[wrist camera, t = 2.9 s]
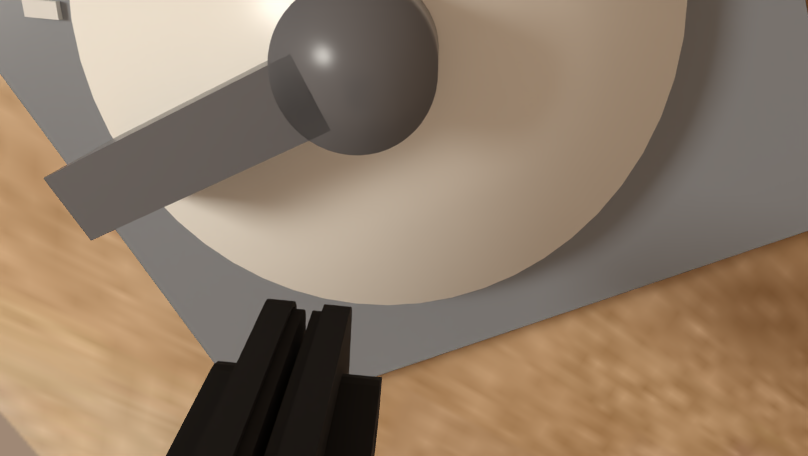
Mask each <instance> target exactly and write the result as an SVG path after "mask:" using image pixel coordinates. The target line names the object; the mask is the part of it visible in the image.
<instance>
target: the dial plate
mask: <svg viewBox="0 0 808 456" xmlns="http://www.w3.org/2000/svg"><path fill="white" fill-rule="evenodd" d="M0 74H1V76H2V77H3V78H4V80H5V81H6V82H7V84H8V85H9V86H10V88H11V89H12V90H13V92H14V93H15V95H16V96H17V97H18V99H19V100H20V101H21V103H22V104H23V105H24V107H25V108H26V109H27V111H28V112H29V113H30V115H31V116H32V117H33V119H34V120H35V122H36V123H37V124H38V126H39V127H40V128H41V130H42V131H43V132H44V134H45V135H46V136H47V138H48V139H49V140H50V142H51V143H52V144H53V146H54V147H55V149H56V150H57V151H58V153H59V154H60V155H61V157H62V158H63V159H64V161H65V162H66V163H67V164H69V163H71V162H73V161H75V160H76V159H78V158H80V157H82V156H83V155H85V154H87V153H89V152H90V151H92V150H94V149H96V148H98V147H99V146H101V145H103V144H105V143H106V142H108V141H110V140H112V139H113V138H112V136H111V134H110V132H109V130H108V128H107V126H106V124H105V122H104V120H103V118H102V116H101V113H100V111H99V109H98V107H97V105H96V103H95V101H94V99H93V96H92V93H91V90H90V87H89V84H88V81H87V78H86V75H85V73H84V70H83V67H82V64H81V61H80V57H79V52H78V47H77V43H76V38H75V34H74V29H73V25H72V20H71V10H70V0H0ZM115 230H116V231H117V232H118V234H119V235H120V236H121V238H122V239H123V240H124V242H125V243H126V244H127V246H128V247H129V249H130V250H131V251H132V253H133V254H134V255H135V257H136V258H137V259H138V261H139V262H140V263H141V265H142V266H143V267H144V269H145V270H146V271H147V273H148V274H149V276H150V277H151V278H152V280H153V281H154V282H155V284H156V285H157V286H158V288H159V289H160V290H161V292H162V293H163V294H164V296H165V297H166V298H167V300H168V301H169V303H170V304H171V305H172V307H173V308H174V309H175V311H176V312H177V313H178V315H179V316H180V317H181V319H182V320H183V321H184V323H185V324H186V326H187V327H188V328H189V330H190V331H191V332H192V334H193V335H194V336H195V338H196V339H197V340H198V342H199V343H200V344H201V346H202V347H203V348H204V350H205V351H206V353H207V354H208V355H209V357H210V358H211V359H212V361H213V362H214V363H216V362H217V361H225V362H235V363H237V361H238V359H239V357H240V354H241V352H242V350H243V348H244V346H245V344H246V342H247V340H248V337H249V335H250V333H251V331H252V329H253V327H254V325H255V322H256V320H257V318H258V316H259V314H260V312H261V310H262V307H263V305H264V303H265V301H266V300H267V299H278V300H288V301H295V302H296V305H297V309H305V311H306V328H307V325H308V322H309V319H310V316H311V313H312V311H313V310H315V311H322V309H323V306H324V304H328V305H338V306H348V307H352V325H351V345H350V366H349V374H353V375H363V376H373V377H375V376H378V375H381V374H384V373H387V372H390V371H393V370H396V369H399V368H402V367H405V366H408V365H411V364H414V363H417V362H420V361H423V360H426V359H429V358H432V357H435V356H438V355H441V354H444V353H447V352H450V351H452V350H455V349H458V348H461V347H464V346H467V345H470V344H473V343H476V342H479V341H482V340H485V339H488V338H491V337H494V336H497V335H500V334H503V333H506V332H509V331H512V330H515V329H518V328H521V327H524V326H527V325H530V324H533V323H536V322H539V321H542V320H545V319H547V318H550V317H553V316H556V315H559V314H562V313H565V312H568V311H571V310H574V309H577V308H580V307H583V306H586V305H589V304H592V303H595V302H598V301H601V300H604V299H607V298H610V297H613V296H616V295H619V294H622V293H625V292H628V291H631V290H634V289H637V288H640V287H642V286H645V285H648V284H651V283H654V282H657V281H660V280H663V279H666V278H669V277H672V276H675V275H678V274H681V273H684V272H687V271H690V270H693V269H696V268H699V267H702V266H705V265H708V264H711V263H714V262H717V261H720V260H723V259H726V258H729V257H732V256H735V255H738V254H740V253H743V252H746V251H749V250H752V249H755V248H758V247H761V246H764V245H767V244H770V243H773V242H776V241H779V240H782V239H785V238H788V237H791V236H794V235H797V234H800V233H803V232H806V231H808V13H807V7H806V1H805V0H687V9H686V19H685V30H684V38H683V43H682V48H681V52H680V57H679V61H678V66H677V70H676V75H675V79H674V82H673V85H672V87H671V90H670V93H669V96H668V99H667V102H666V104H665V107H664V110H663V113H662V116H661V118H660V120H659V122H658V124H657V126H656V128H655V130H654V132H653V134H652V136H651V138H650V140H649V142H648V144H647V146H646V148H645V150H644V152H643V154H642V156H641V157H640V159H639V160H638V162H637V163H636V165H635V166H634V168H633V169H632V171H631V172H630V174H629V175H628V177H627V178H626V180H625V181H624V183H623V184H622V186H621V187H620V188H619V189H618V190H617V192H616V193H615V194H614V195H613V196H612V198H611V199H610V200H609V201H608V202H607V203H606V205H605V206H604V207H603V208H602V209H601V211H600V212H599V213H598V214H597V215H596V216H595V217H594V218H593V219H592V220H590V221H589V222H588V223H587V224H586V225H585V226H584V227H583V228H582V229H581V230H580V231H579V232H578V233H577V234H575V235H574V236H573V237H572V238H571V239H570V240H568V241H567V242H565V243H564V244H563V245H561V246H560V247H559V248H557V249H556V250H555V251H553V252H552V253H551V254H549V255H548V256H546V257H545V258H544V259H542V260H540V261H538V262H537V263H535V264H533V265H531V266H530V267H528V268H526V269H524V270H523V271H521V272H519V273H517V274H516V275H514V276H511V277H509V278H507V279H504V280H502V281H499V282H497V283H495V284H492V285H490V286H488V287H485V288H483V289H479V290H476V291H473V292H469V293H466V294H462V295H459V296H456V297H452V298H447V299H441V300H435V301H430V302H424V303H415V304H399V305H375V304H355V303H349V302H343V301H337V300H330V299H324V298H321V297H317V296H313V295H310V294H306V293H302V292H299V291H295V290H292V289H289V288H287V287H284V286H282V285H279V284H277V283H274V282H271V281H269V280H266V279H264V278H262V277H260V276H258V275H256V274H254V273H252V272H250V271H248V270H246V269H244V268H242V267H241V266H239V265H237V264H235V263H233V262H231V261H230V260H228V259H227V258H225V257H224V256H222V255H221V254H219V253H218V252H216V251H215V250H213V249H212V248H210V247H209V246H207V245H206V244H204V243H203V242H202V241H201V240H200V239H198V238H197V237H196V236H195V235H194V234H192V233H191V232H190V231H189V230H188V229H186V228H185V227H184V226H183V225H182V224H181V223H179V222H178V221H177V220H176V219H175V218H174V217H173V216H172V215H171V214H170V213H169V212H168V211H167V210H166V209H165V208H164V207H163V208H161V209H159V210H157V211H154V212H152V213H150V214H148V215H146V216H144V217H141V218H139V219H137V220H135V221H133V222H130V223H128V224H126V225H124V226H122V227H120V228H117V229H115Z"/></svg>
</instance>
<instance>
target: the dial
mask: <svg viewBox="0 0 808 456" xmlns="http://www.w3.org/2000/svg"><path fill="white" fill-rule="evenodd" d="M686 9H687V0H70V10H71V20H72V25H73V29H74V34H75V38H76V43H77V47H78V52H79V57H80V61H81V64H82V67H83V70H84V73H85V75H86V78H87V81H88V84H89V87H90V90H91V93H92V96H93V99H94V101H95V103H96V105H97V107H98V109H99V111H100V113H101V116H102V118H103V120H104V122H105V124H106V126H107V128H108V130H109V132H110V134H111V136H112V138H113V139H112V140H110V141H108V142H106V143H105V144H103V145H101V146H99V147H98V148H96V149H94V150H92V151H90V152H89V153H87V154H85V155H83V156H82V157H80V158H78V159H76V160H75V161H73V162H71V163H69V164H67V165H66V166H64V167H62V168H60V169H59V170H57V171H55V172H53V173H52V174H50V175H48V176H46V177H44V180H45V181H46V182H47V184H48V185H49V186H50V188H51V189H52V190H53V191H54V193H55V194H56V195H57V197H58V198H59V199H60V201H61V202H62V203H63V205H64V206H65V207H66V208H67V210H68V211H69V212H70V214H71V215H72V216H73V218H74V219H75V220H76V222H77V223H78V224H79V225H80V227H81V228H82V229H83V231H84V232H85V233H86V235H87V236H88V237H89V238H90V240H93V239H96V238H98V237H100V236H102V235H104V234H106V233H109V232H111V231H113V230H115V229H117V228H120V227H122V226H124V225H126V224H128V223H130V222H133V221H135V220H137V219H139V218H141V217H144V216H146V215H148V214H150V213H152V212H154V211H157V210H159V209H161V208H163V207H164V208H165V209H166V210H167V211H168V212H169V213H170V214H171V215H172V216H173V217H174V218H175V219H176V220H177V221H178V222H179V223H181V224H182V225H183V226H184V227H185V228H186V229H188V230H189V231H190V232H191V233H192V234H194V235H195V236H196V237H197V238H198V239H200V240H201V241H202V242H203V243H204V244H206V245H207V246H209V247H210V248H212V249H213V250H215V251H216V252H218V253H219V254H221V255H222V256H224V257H225V258H227V259H228V260H230V261H231V262H233V263H235V264H237V265H239V266H241V267H242V268H244V269H246V270H248V271H250V272H252V273H254V274H256V275H258V276H260V277H262V278H264V279H266V280H269V281H271V282H274V283H277V284H279V285H282V286H284V287H287V288H289V289H292V290H295V291H299V292H302V293H306V294H310V295H313V296H317V297H321V298H324V299H330V300H337V301H343V302H349V303H355V304H375V305H399V304H415V303H424V302H430V301H435V300H441V299H447V298H452V297H456V296H459V295H462V294H466V293H469V292H473V291H476V290H479V289H483V288H485V287H488V286H490V285H492V284H495V283H497V282H499V281H502V280H504V279H507V278H509V277H511V276H514V275H516V274H517V273H519V272H521V271H523V270H524V269H526V268H528V267H530V266H531V265H533V264H535V263H537V262H538V261H540V260H542V259H544V258H545V257H546V256H548V255H549V254H551V253H552V252H553V251H555V250H556V249H557V248H559V247H560V246H561V245H563V244H564V243H565V242H567V241H568V240H570V239H571V238H572V237H573V236H574V235H575V234H577V233H578V232H579V231H580V230H581V229H582V228H583V227H584V226H585V225H586V224H587V223H588V222H589V221H590V220H592V219H593V218H594V217H595V216H596V215H597V214H598V213H599V212H600V211H601V209H602V208H603V207H604V206H605V205H606V203H607V202H608V201H609V200H610V199H611V198H612V196H613V195H614V194H615V193H616V192H617V190H618V189H619V188H620V187H621V186H622V184H623V183H624V181H625V180H626V178H627V177H628V175H629V174H630V172H631V171H632V169H633V168H634V166H635V165H636V163H637V162H638V160H639V159H640V157H641V156H642V154H643V152H644V150H645V148H646V146H647V144H648V142H649V140H650V138H651V136H652V134H653V132H654V130H655V128H656V126H657V124H658V122H659V120H660V118H661V116H662V113H663V110H664V107H665V104H666V102H667V99H668V96H669V93H670V90H671V87H672V85H673V82H674V79H675V75H676V70H677V66H678V61H679V57H680V52H681V48H682V43H683V38H684V30H685V19H686Z"/></svg>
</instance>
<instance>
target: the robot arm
mask: <svg viewBox="0 0 808 456" xmlns="http://www.w3.org/2000/svg"><path fill="white" fill-rule="evenodd" d="M351 325H352V307H348V306H338V305H328V304H324V306H323V309H322V311H315V310H313V311H312V313H311V316H310V319H309V322H308V325H307V328H306V311H305V309H297V305H296V302H295V301H288V300H278V299H267V300H266V301H265V303H264V305H263V307H262V310H261V312H260V314H259V316H258V318H257V320H256V322H255V325H254V327H253V329H252V331H251V333H250V335H249V337H248V340H247V342H246V344H245V346H244V348H243V350H242V352H241V354H240V357H239V359H238V361H237V363H235V362H225V361H217V362H216V363H215V364H214V365H213V367H212V368H211V370H210V372H209V374H208V376H207V378H206V380H205V382H204V384H203V385H202V387H201V389H200V391H199V393H198V395H197V397H196V399H195V401H194V403H193V405H192V407H191V409H190V411H189V412H188V414H187V416H186V418H185V420H184V422H183V424H182V426H181V428H180V430H179V432H178V434H177V436H176V437H175V439H174V441H173V443H172V445H171V447H170V449H169V451H168V453H167V455H166V456H374V454H375V446H376V437H377V428H378V418H379V407H380V395H381V383H382V377H373V376H363V375H353V374H349V366H350V345H351Z"/></svg>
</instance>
